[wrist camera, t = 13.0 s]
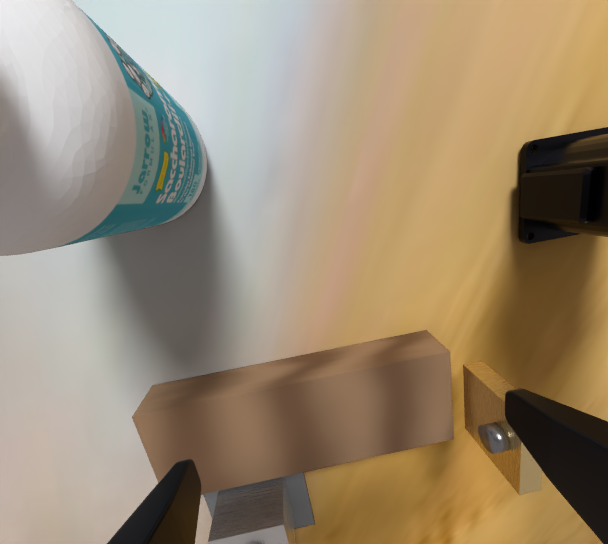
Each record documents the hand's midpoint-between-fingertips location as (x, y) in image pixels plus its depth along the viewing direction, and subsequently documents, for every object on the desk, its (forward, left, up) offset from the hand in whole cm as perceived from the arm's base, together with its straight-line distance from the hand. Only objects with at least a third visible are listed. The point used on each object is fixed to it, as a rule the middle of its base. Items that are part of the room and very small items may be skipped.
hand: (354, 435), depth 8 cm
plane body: (+2, +8, -12) cm, 15 cm away
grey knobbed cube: (+7, +16, -12) cm, 21 cm away
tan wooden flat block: (-9, +8, -9) cm, 15 cm away
